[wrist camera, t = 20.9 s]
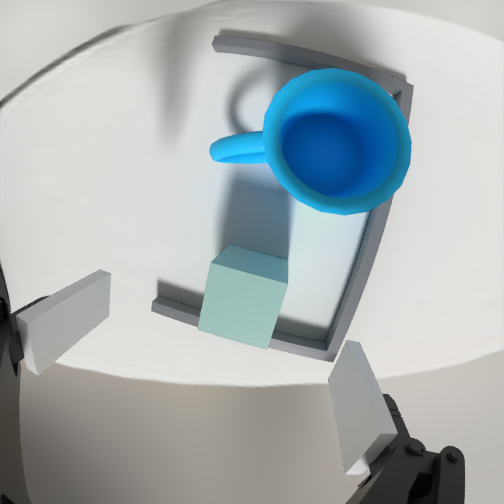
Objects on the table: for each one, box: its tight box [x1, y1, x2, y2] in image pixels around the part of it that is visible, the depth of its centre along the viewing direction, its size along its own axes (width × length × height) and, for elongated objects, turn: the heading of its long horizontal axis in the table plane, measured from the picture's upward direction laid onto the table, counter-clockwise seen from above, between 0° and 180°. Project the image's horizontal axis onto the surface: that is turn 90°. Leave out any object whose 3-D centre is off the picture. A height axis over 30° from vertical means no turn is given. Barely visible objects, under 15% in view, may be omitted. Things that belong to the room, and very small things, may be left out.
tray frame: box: [151, 36, 414, 362], centre depth 21 cm, size 17×25×2 cm
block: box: [198, 245, 288, 349], centre depth 21 cm, size 5×5×6 cm
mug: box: [210, 68, 412, 215], centre depth 17 cm, size 12×8×8 cm
